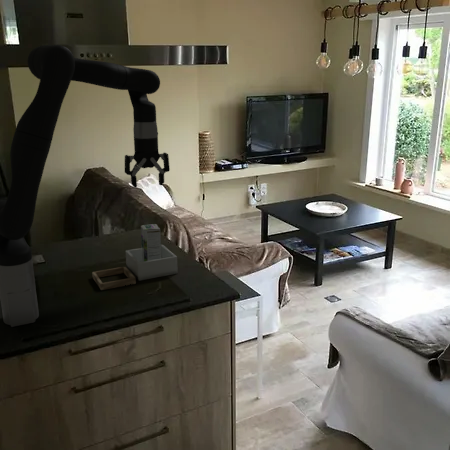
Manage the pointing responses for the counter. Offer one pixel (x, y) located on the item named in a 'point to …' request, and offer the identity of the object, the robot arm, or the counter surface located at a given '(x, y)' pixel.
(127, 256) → the bin
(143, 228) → the syrup box
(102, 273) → the socket collar
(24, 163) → the robot arm
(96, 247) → the counter surface
